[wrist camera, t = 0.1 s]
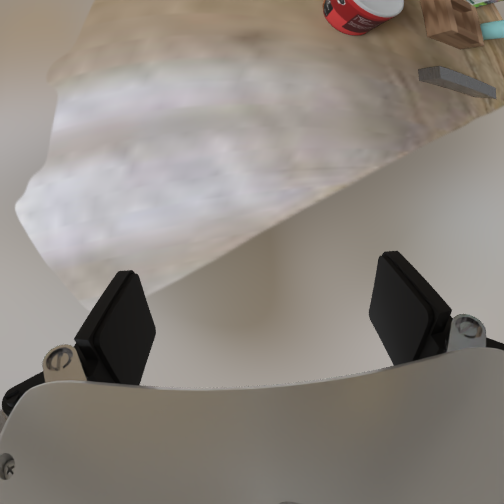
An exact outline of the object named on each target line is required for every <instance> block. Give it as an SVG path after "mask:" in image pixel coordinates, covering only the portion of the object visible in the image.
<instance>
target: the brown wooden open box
mask: <svg viewBox="0 0 504 504" xmlns="http://www.w3.org/2000/svg"><path fill="white" fill-rule="evenodd" d="M420 3H421V7H422V11H423V16H424V21H425V26H426V32H427V37H429V38H432V39H435V40H438V41H440V42H443V43H446V44H448V45H451V46H453V47H456V48H458V49H464V48H471V47H478V46H484V41H483V36H482V31H481V26H480V22H479V18H478V14H477V10H476V7H475V6H473V5H471V4H469V3H468V2H466V1H464V0H420Z"/></svg>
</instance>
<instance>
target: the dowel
mask: <svg viewBox="0 0 504 504" xmlns="http://www.w3.org/2000/svg"><path fill="white" fill-rule="evenodd" d="M480 26H481V31H482V36H483V40H488V39H496V38H504V20H501V21H494V22H489V23H483V24H480Z"/></svg>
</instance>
